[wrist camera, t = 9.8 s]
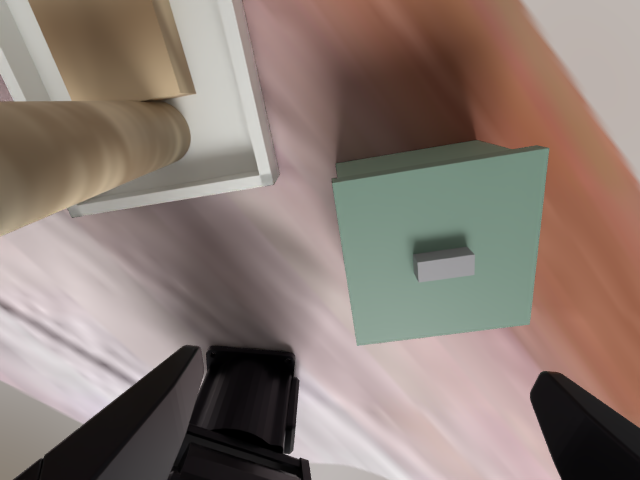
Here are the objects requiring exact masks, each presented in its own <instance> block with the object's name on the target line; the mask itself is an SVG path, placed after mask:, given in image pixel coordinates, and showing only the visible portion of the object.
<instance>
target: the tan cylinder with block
mask: <svg viewBox="0 0 640 480" xmlns="http://www.w3.org/2000/svg"><path fill="white" fill-rule="evenodd" d="M28 2H29V4H30V6H31V9H32V11H33V13H34V15H35V18H36V20H37V22H38V25H39V27H40V29H41V31H42V34H43V36H44V38H45V41H46V43H47V45H48V47H49V50H50V52H51V54H52V57H53V59H54V61H55V63H56V66H57V68H58V70H59V73H60V75H61V77H62V79H63V82H64V84H65V86H66V89H67V91H68V93H69V95H70V98H71V100H72V101H7V102H0V236H3V235H5V234H7V233H10V232H12V231H14V230H17V229H19V228H21V227H24V226H26V225H28V224H31V223H33V222H35V221H38V220H40V219H43V218H45V217H47V216H50V215H52V214H54V213H57V212H59V211H61V210H64V209H66V208H68V207H71V206H73V205H75V204H78V203H80V202H82V201H85V200H87V199H89V198H92V197H94V196H96V195H99V194H101V193H104V192H106V191H108V190H111V189H113V188H115V187H118V186H120V185H122V184H125V183H127V182H129V181H132V180H134V179H136V178H139V177H141V176H143V175H146V174H148V173H150V172H153V171H155V170H158V169H160V168H162V167H165V166H167V165H169V164H172V163H174V162H176V161H178V160H180V159H181V158H183V157H184V156H185V154H186V153H187V151H188V149H189V147H190V142H191V134H190V129H189V126H188V123H187V121H186V120H185V118H184V117H183V115H182V114H181V113H180V112H179V111H178V110H177V109H176V108H175V107H173V106H172V105H170V104H168V103H166V102H163V101H162V100H167V99H172V98H177V97H182V96H187V95H193V94H196V91H195V87H194V84H193V81H192V77H191V74H190V70H189V67H188V64H187V60H186V57H185V53H184V50H183V47H182V43H181V40H180V36H179V33H178V30H177V26H176V23H175V20H174V16H173V13H172V9H171V6H170V3H169V0H28Z"/></svg>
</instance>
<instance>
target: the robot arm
mask: <svg viewBox="0 0 640 480" xmlns="http://www.w3.org/2000/svg"><path fill="white" fill-rule="evenodd" d="M212 352H213V353H215V354H213V353H212ZM287 359H290V360H287ZM206 360H207V373H206V376H205V378H204V381H203V383H202V385H201V381H202V378H203V373H204V366H203V358H202V351H201V348H200V347H199V346H192V345H185V346H183V347H181V348H180V349H179V350H177V351H176V352H175V353H174V354H172V355H171V356H170V357H168V358H167V359H166V360H165V361H163V362H162V363H161V364H160V365H158V366H157V367H156V368H154V369H153V370H152V371H151V372H149V373H148V374H147V375H146V376H144V377H143V378H142V379H140V380H139V381H138V382H137V383H135V384H134V385H133V386H132V387H130V388H129V389H128V390H127V391H125V392H124V393H123V394H121V395H120V396H119V397H118V398H116V399H115V400H114V401H113V402H111V403H110V404H109V405H107V406H106V407H105V408H104V409H102V410H101V411H100V412H99V413H97V414H96V415H95V416H94V417H92V418H91V419H90V420H88V421H87V422H86V423H85V424H83V425H82V426H81V427H80V428H78V429H77V430H76V431H74V432H73V433H72V434H71V435H69V436H68V437H67V438H66V439H64V440H63V441H62V442H61V443H59V444H58V445H57V446H55V447H54V448H53V449H52V450H50V451H49V452H48V453H47V454H45V456H44V458H41V459H39V460H38V461H36V462H35V463H34V464H32V465H31V466H30V467H29V468H27V469H26V470H25V471H24V472H22V473H21V474H20V475H18V476H17V477H16V478H14V479H13V480H311V474H310V467H309V461H308V460H306V459H303V458H299V459H297V458H294V457H291V456H288V455H285V454H290V453H291V452H292V451H293V447H294V437H295V427H296V415H297V403H298V391H299V380H298V378H295V377H294V366H295V355H294V354H293V353H291V352H281V351H269V350H257V349H245V348H233V347H220V346H211V347H210V348H209V349H208V351H207V353H206ZM200 385H201V388H200ZM199 388H200V390H199ZM198 391H199V392H198ZM530 400H531V403H532V406H533V409H534V411H535V414H536V417H537V419H538V422H539V425H540V427H541V430H542V433H543V435H544V438H545V441H546V444H547V446H548V449H549V452H550V454H551V457H552V459H553V462H554V464H555V466H556V468H557V471H558V473H559V475H560V477H561V479H562V480H640V428H639V427H637V426H636V425H635V424H633V423H632V422H630V421H629V420H627V419H626V418H624V417H623V416H622V415H620V414H619V413H617V412H616V411H614V410H613V409H612V408H610V407H609V406H607V405H606V404H604V403H603V402H602V401H600V400H599V399H597V398H596V397H594V396H593V395H591V394H590V393H589V392H587V391H586V390H584V389H583V388H581V387H580V386H579V385H577V384H576V383H574V382H573V381H571V380H570V379H569V378H567V377H566V376H564V375H563V374H561V373H558V372H550V371H543V372H541V373H540V374H539V376H538V378H537V380H536V382H535V384H534V386H533V388H532V390H531V392H530Z"/></svg>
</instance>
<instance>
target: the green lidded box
mask: <svg viewBox="0 0 640 480" xmlns="http://www.w3.org/2000/svg"><path fill="white" fill-rule="evenodd" d="M548 155H549V148H547V147H542V146H537V145H536V146H530V147H524V148H518V149H509V148H505V147H501V146H497V145H494V144H490V143H486V142H482V141H479V140H474V141H468V142H462V143H456V144H450V145H444V146H438V147H432V148H426V149H420V150H414V151H408V152H402V153H396V154H390V155H384V156H378V157H372V158H366V159H360V160H354V161H348V162H342V163H336V171H337V177H338V178H333V179H332V186H333V193H334V199H335V206H336V212H337V219H338V225H339V232H340V238H341V245H342V251H343V258H344V264H345V271H346V277H347V284H348V290H349V297H350V303H351V310H352V316H353V323H354V329H355V336H356V342H357V346H359V345H367V344H375V343H383V342H392V341H400V340H408V339H416V338H424V337H432V336H440V335H448V334H456V333H464V332H472V331H481V330H489V329H497V328H505V327H513V326H521V325H529V324H530V317H531V308H532V299H533V290H534V281H535V272H536V263H537V254H538V245H539V236H540V227H541V218H542V209H543V200H544V191H545V182H546V173H547V164H548Z"/></svg>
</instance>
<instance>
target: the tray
mask: <svg viewBox="0 0 640 480" xmlns="http://www.w3.org/2000/svg"><path fill="white" fill-rule="evenodd" d="M169 3H170V6H171V9H172V13H173V16H174V20H175V23H176V26H177V30H178V33H179V36H180V40H181V43H182V47H183V50H184V53H185V57H186V60H187V64H188V67H189V70H190V74H191V77H192V81H193V84H194V87H195V91H196V94H193V95H187V96H182V97H177V98H172V99H167V100H162V101H163V102H166V103H168V104H170V105H172V106H173V107H175V108H176V109H177V110H178V111H179V112H180V113H181V114H182V115H183V117H184V118H185V120H186V121H187V123H188V126H189V129H190V134H191V142H190V147H189V149H188V151H187V153H186V154H185V156H184V157H183V158H181V159H180V160H178V161H176V162H174V163H172V164H169V165H167V166H165V167H162V168H160V169H158V170H155V171H153V172H150V173H148V174H146V175H143V176H141V177H139V178H136V179H134V180H132V181H129V182H127V183H125V184H122V185H120V186H118V187H115V188H113V189H111V190H108V191H106V192H104V193H101V194H99V195H96V196H94V197H92V198H89V199H87V200H85V201H82V202H80V203H78V204H75V205H73V206H71V207H68V208H67V209H68V211H69V213H70V215H71V217H72V218H74V217H80V216H86V215H92V214H98V213H104V212H111V211H117V210H123V209H129V208H135V207H141V206H147V205H153V204H160V203H166V202H172V201H178V200H184V199H190V198H196V197H202V196H208V195H215V194H221V193H227V192H233V191H239V190H245V189H251V188H257V187H263V186H270V185H274V183H275V182H276V180H277V178H278V177H279V175H280V174H279V169H278V164H277V160H276V155H275V151H274V146H273V141H272V137H271V132H270V127H269V123H268V118H267V114H266V109H265V104H264V100H263V95H262V90H261V86H260V81H259V77H258V72H257V67H256V63H255V58H254V53H253V49H252V44H251V40H250V35H249V30H248V26H247V21H246V17H245V12H244V7H243V3H242V0H169ZM0 74H1V76H2V78H3V80H4V82H5V84H6V86H7V88H8V90H9V92H10V94H11V96H12V98H13V100H14V101H72V100H71V98H70V95H69V93H68V91H67V89H66V86H65V84H64V82H63V79H62V77H61V75H60V73H59V70H58V68H57V66H56V63H55V61H54V59H53V57H52V54H51V52H50V50H49V47H48V45H47V43H46V41H45V38H44V36H43V34H42V31H41V29H40V27H39V25H38V22H37V20H36V18H35V15H34V13H33V11H32V9H31V6H30V4H29V2H28V0H0Z"/></svg>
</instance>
